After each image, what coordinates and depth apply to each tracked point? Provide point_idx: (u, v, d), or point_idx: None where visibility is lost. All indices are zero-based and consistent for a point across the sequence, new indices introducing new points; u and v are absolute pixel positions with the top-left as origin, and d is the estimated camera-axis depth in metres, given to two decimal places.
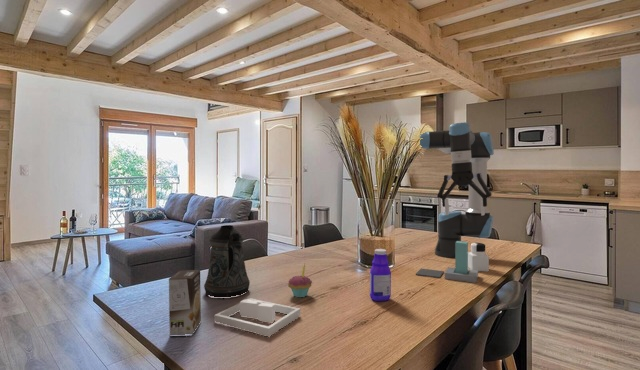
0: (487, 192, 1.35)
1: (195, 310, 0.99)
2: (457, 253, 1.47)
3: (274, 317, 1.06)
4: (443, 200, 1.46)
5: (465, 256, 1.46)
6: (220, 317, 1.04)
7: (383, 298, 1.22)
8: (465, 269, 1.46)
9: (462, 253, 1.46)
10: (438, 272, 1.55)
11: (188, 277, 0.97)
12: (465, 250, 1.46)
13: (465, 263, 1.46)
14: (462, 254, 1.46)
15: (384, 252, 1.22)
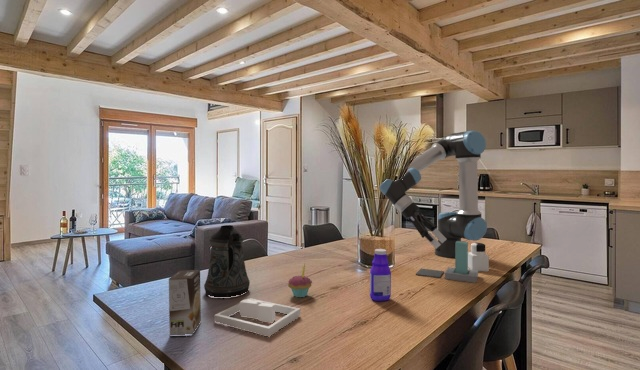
0: None
1: (195, 310, 0.99)
2: (457, 253, 1.47)
3: (274, 317, 1.06)
4: None
5: (465, 256, 1.46)
6: (220, 317, 1.04)
7: (383, 298, 1.22)
8: (465, 269, 1.46)
9: (462, 253, 1.46)
10: (438, 272, 1.55)
11: (188, 277, 0.97)
12: (465, 250, 1.46)
13: (465, 263, 1.46)
14: (462, 254, 1.46)
15: (384, 252, 1.22)
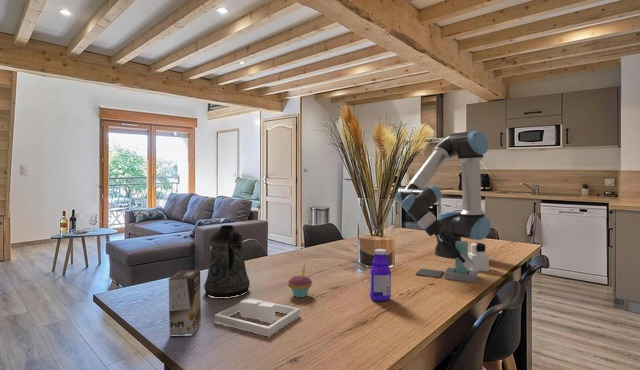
0: None
1: (195, 310, 0.99)
2: None
3: (274, 317, 1.06)
4: None
5: (465, 256, 1.46)
6: (220, 317, 1.04)
7: (383, 298, 1.22)
8: (465, 269, 1.46)
9: (462, 253, 1.46)
10: (438, 272, 1.55)
11: (188, 277, 0.97)
12: (465, 250, 1.46)
13: None
14: None
15: (384, 252, 1.22)
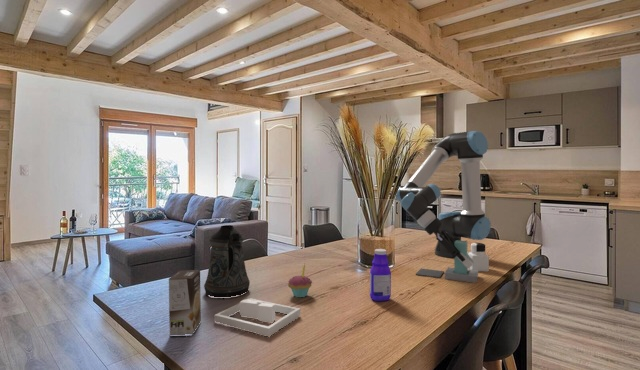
0: None
1: (195, 310, 0.99)
2: None
3: (274, 317, 1.06)
4: None
5: None
6: (220, 317, 1.04)
7: (383, 298, 1.22)
8: (464, 269, 1.45)
9: None
10: (438, 272, 1.55)
11: (188, 277, 0.97)
12: (464, 250, 1.45)
13: None
14: None
15: (384, 252, 1.22)
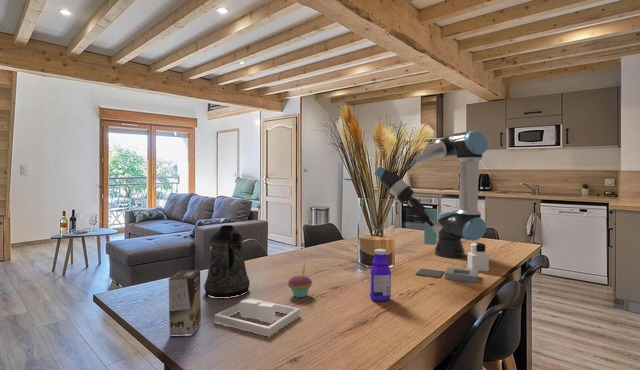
0: None
1: (195, 310, 0.99)
2: None
3: (274, 317, 1.06)
4: None
5: None
6: (220, 317, 1.04)
7: (383, 298, 1.22)
8: (433, 235, 1.52)
9: None
10: (438, 272, 1.55)
11: (188, 277, 0.97)
12: (433, 217, 1.51)
13: None
14: None
15: (384, 252, 1.22)
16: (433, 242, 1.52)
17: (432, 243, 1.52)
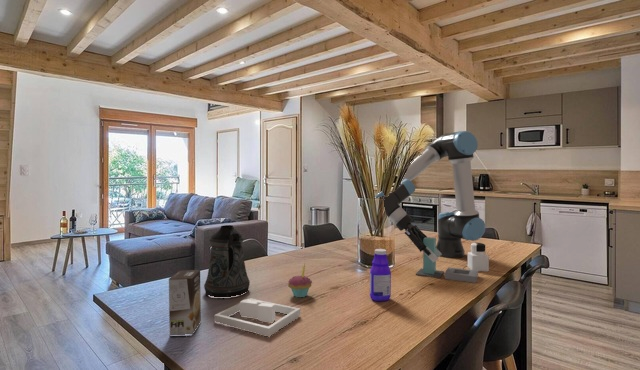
0: None
1: (195, 310, 0.99)
2: None
3: (274, 317, 1.06)
4: None
5: (432, 251, 1.52)
6: (220, 317, 1.04)
7: (383, 298, 1.22)
8: (432, 264, 1.53)
9: (430, 249, 1.53)
10: (438, 272, 1.55)
11: (188, 277, 0.97)
12: (432, 246, 1.52)
13: None
14: None
15: (384, 252, 1.22)
16: (432, 271, 1.53)
17: (431, 272, 1.53)
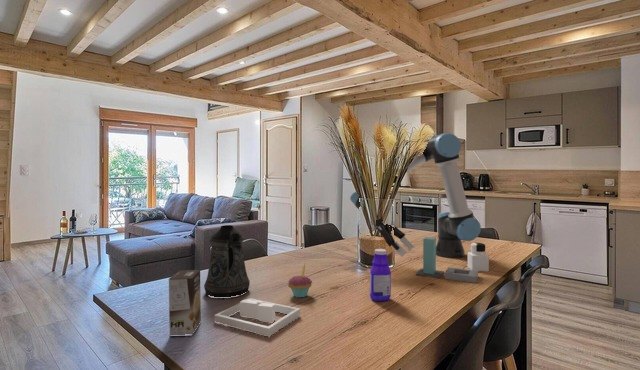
0: None
1: (195, 310, 0.99)
2: (425, 249, 1.54)
3: (274, 317, 1.06)
4: None
5: (432, 251, 1.52)
6: (220, 317, 1.04)
7: (383, 298, 1.22)
8: (432, 264, 1.53)
9: (430, 249, 1.53)
10: (438, 272, 1.55)
11: (188, 277, 0.97)
12: (432, 246, 1.52)
13: (432, 258, 1.52)
14: (429, 250, 1.53)
15: (384, 252, 1.22)
16: (432, 271, 1.53)
17: (431, 272, 1.53)
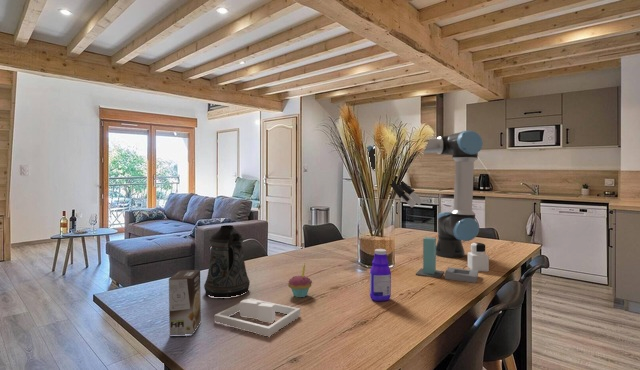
0: None
1: (195, 310, 0.99)
2: (425, 249, 1.54)
3: (274, 317, 1.06)
4: None
5: (432, 251, 1.52)
6: (220, 317, 1.04)
7: (383, 298, 1.22)
8: (432, 264, 1.53)
9: (430, 249, 1.53)
10: (438, 272, 1.55)
11: (188, 277, 0.97)
12: (432, 246, 1.52)
13: (432, 258, 1.52)
14: (429, 250, 1.53)
15: (384, 252, 1.22)
16: (432, 271, 1.53)
17: (431, 272, 1.53)
